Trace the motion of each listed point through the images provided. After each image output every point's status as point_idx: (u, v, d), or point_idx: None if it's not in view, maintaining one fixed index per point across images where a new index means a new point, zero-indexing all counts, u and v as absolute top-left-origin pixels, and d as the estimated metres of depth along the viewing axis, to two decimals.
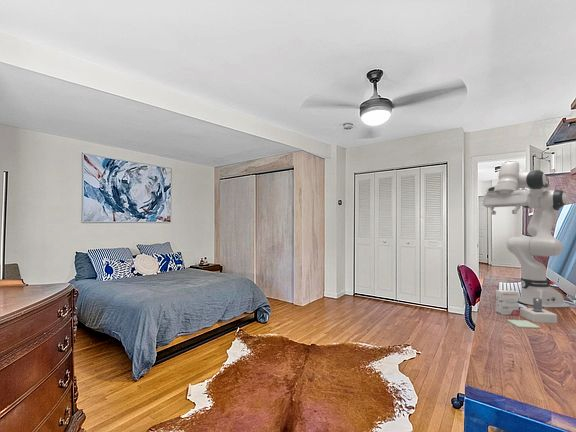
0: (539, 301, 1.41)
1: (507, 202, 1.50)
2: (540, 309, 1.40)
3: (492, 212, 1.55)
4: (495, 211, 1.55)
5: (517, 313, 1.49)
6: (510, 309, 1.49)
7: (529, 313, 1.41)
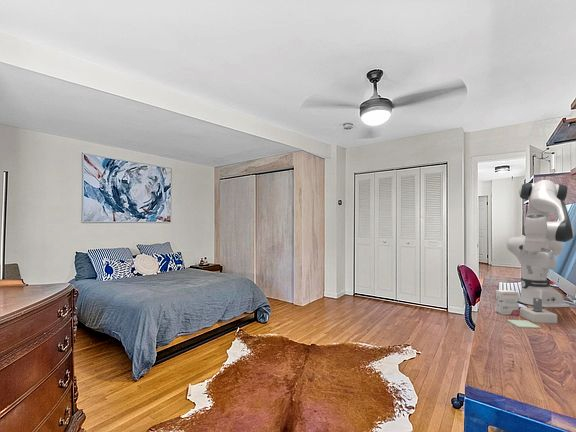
0: (539, 301, 1.40)
1: (535, 264, 1.41)
2: (540, 309, 1.40)
3: (528, 272, 1.47)
4: (531, 270, 1.46)
5: (517, 313, 1.49)
6: (510, 309, 1.49)
7: (529, 313, 1.41)
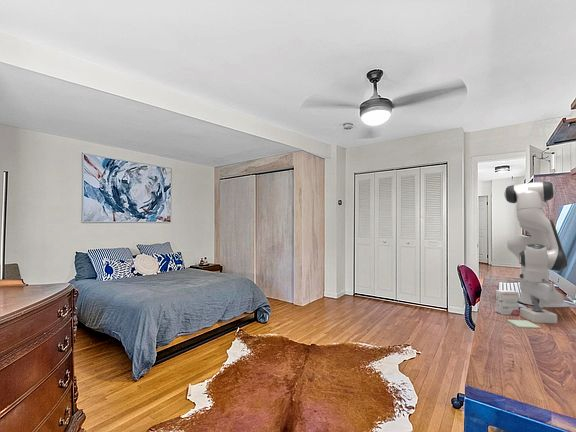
0: (539, 301, 1.41)
1: (535, 294, 1.41)
2: (540, 309, 1.40)
3: (532, 302, 1.45)
4: None
5: (517, 313, 1.49)
6: (510, 309, 1.49)
7: (529, 313, 1.41)
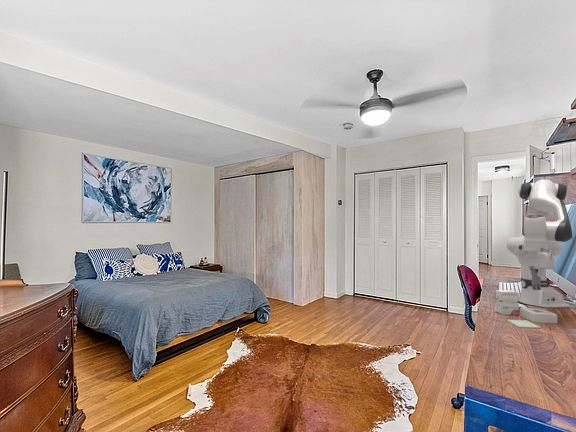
0: None
1: (534, 264, 1.40)
2: (539, 279, 1.40)
3: (530, 273, 1.44)
4: None
5: (517, 313, 1.49)
6: (510, 309, 1.49)
7: (529, 313, 1.41)
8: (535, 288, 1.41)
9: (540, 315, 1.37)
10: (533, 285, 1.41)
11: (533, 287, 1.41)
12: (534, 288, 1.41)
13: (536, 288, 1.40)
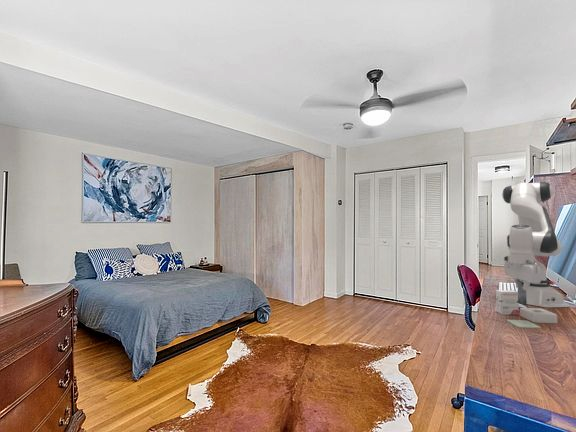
0: (523, 284, 1.34)
1: (519, 277, 1.34)
2: (524, 292, 1.33)
3: (516, 286, 1.38)
4: None
5: (517, 313, 1.49)
6: (510, 309, 1.49)
7: (529, 313, 1.41)
8: (521, 302, 1.34)
9: (540, 315, 1.37)
10: (519, 299, 1.35)
11: (519, 301, 1.35)
12: (520, 302, 1.34)
13: (522, 302, 1.34)
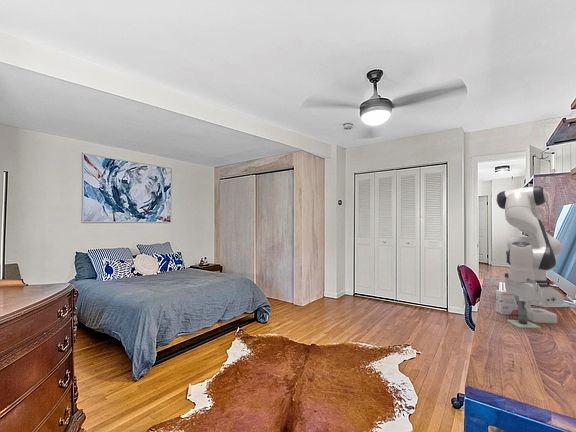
0: (524, 304, 1.34)
1: (520, 294, 1.33)
2: (525, 312, 1.33)
3: (515, 302, 1.39)
4: None
5: (517, 313, 1.49)
6: (510, 309, 1.49)
7: (529, 313, 1.41)
8: (521, 322, 1.34)
9: (540, 315, 1.37)
10: (519, 319, 1.35)
11: (519, 321, 1.35)
12: (520, 322, 1.34)
13: (522, 322, 1.34)
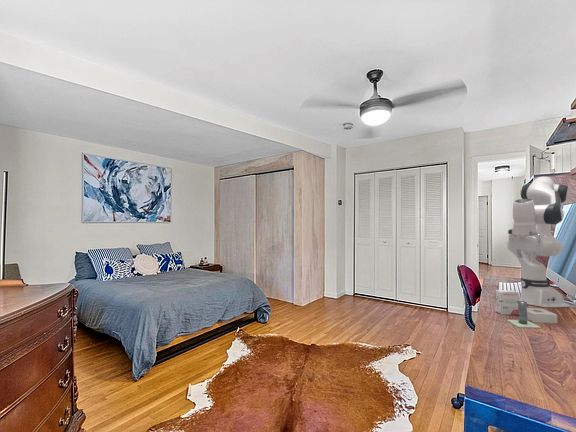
0: (524, 304, 1.33)
1: (523, 248, 1.42)
2: (525, 312, 1.33)
3: (517, 256, 1.49)
4: (521, 254, 1.48)
5: (517, 313, 1.49)
6: (510, 309, 1.49)
7: (529, 313, 1.41)
8: (521, 322, 1.34)
9: (540, 315, 1.37)
10: (519, 319, 1.35)
11: (519, 321, 1.35)
12: (520, 322, 1.34)
13: (522, 322, 1.34)
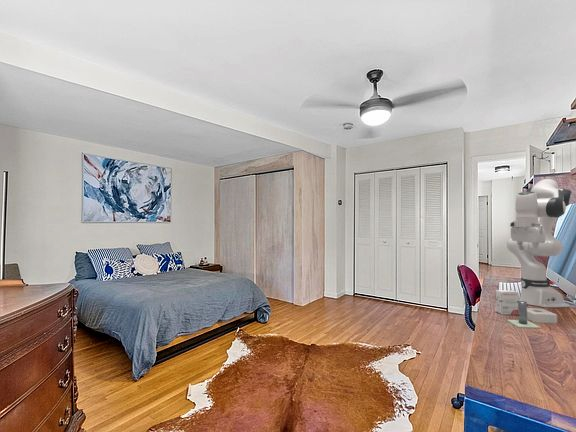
0: (524, 304, 1.33)
1: (525, 239, 1.44)
2: (525, 312, 1.33)
3: (519, 248, 1.51)
4: (522, 247, 1.50)
5: (517, 313, 1.49)
6: (510, 309, 1.49)
7: (529, 313, 1.41)
8: (521, 322, 1.34)
9: (540, 315, 1.37)
10: (519, 319, 1.35)
11: (519, 321, 1.35)
12: (520, 322, 1.34)
13: (522, 322, 1.34)
